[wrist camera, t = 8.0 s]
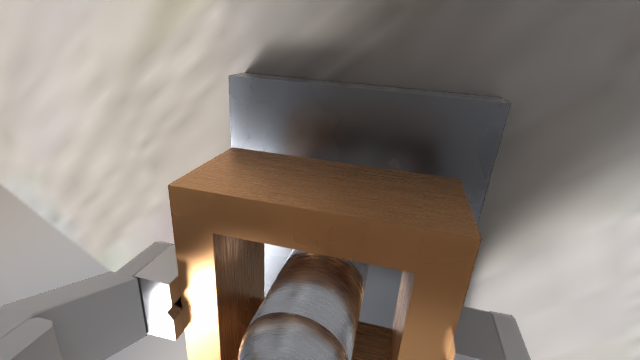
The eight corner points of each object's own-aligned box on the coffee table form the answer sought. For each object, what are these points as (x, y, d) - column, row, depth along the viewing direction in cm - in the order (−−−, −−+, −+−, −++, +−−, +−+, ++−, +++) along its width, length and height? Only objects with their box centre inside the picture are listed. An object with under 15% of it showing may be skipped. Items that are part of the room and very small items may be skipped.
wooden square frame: (232, 147, 10) (167, 185, 8) (460, 179, 9) (481, 238, 6) (238, 314, 13) (191, 388, 10) (418, 358, 11) (420, 457, 9)
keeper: (243, 72, 13) (8, 115, 5) (501, 97, 11) (685, 212, 4) (248, 286, 17) (113, 486, 9) (440, 330, 15) (467, 622, 7)
